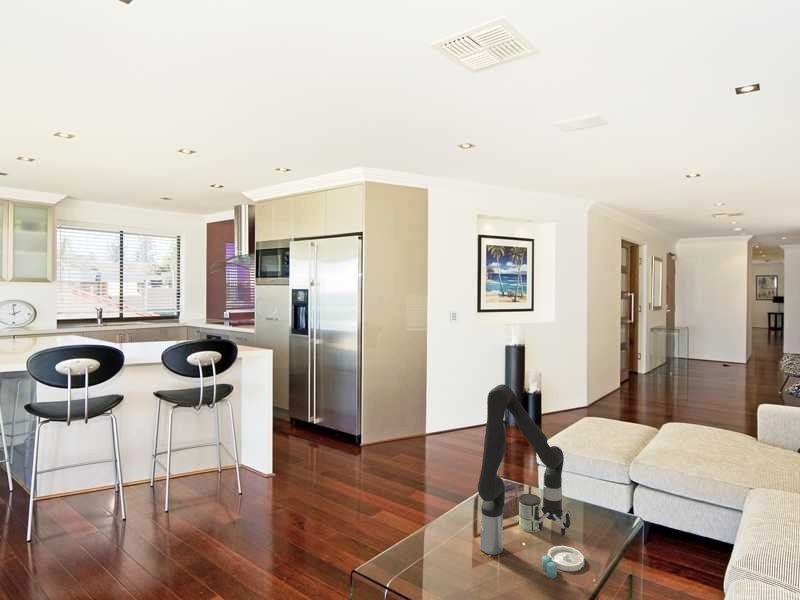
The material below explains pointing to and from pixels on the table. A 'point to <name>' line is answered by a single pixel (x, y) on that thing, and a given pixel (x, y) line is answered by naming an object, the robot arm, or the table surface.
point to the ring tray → (566, 558)
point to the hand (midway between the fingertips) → (551, 533)
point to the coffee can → (528, 512)
